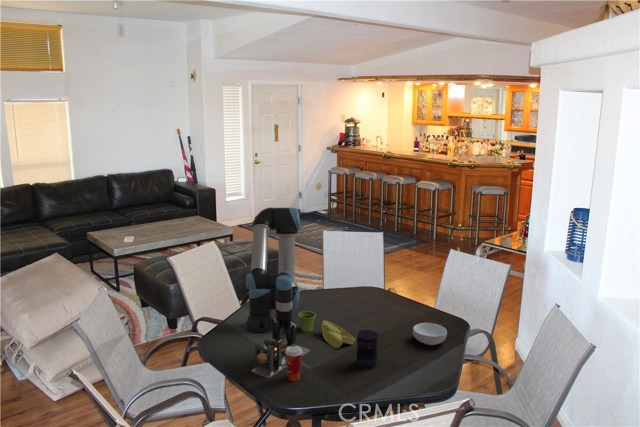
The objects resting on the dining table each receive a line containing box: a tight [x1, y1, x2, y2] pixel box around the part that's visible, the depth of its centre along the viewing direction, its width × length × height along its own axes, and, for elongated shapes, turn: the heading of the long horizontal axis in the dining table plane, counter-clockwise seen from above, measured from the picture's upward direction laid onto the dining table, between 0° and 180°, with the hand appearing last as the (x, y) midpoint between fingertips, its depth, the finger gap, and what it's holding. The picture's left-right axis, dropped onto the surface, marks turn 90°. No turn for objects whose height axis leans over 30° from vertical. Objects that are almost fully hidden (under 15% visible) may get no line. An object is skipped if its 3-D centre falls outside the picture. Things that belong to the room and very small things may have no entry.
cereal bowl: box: [412, 322, 448, 346], centre depth 283 cm, size 17×17×7 cm
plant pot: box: [297, 310, 317, 333], centre depth 294 cm, size 9×9×9 cm
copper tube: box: [256, 337, 287, 364], centre depth 254 cm, size 20×5×5 cm, turn 147°
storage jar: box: [356, 329, 379, 370], centre depth 258 cm, size 10×10×15 cm
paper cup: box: [285, 345, 303, 382], centre depth 244 cm, size 8×8×14 cm
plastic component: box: [321, 320, 356, 349], centre depth 284 cm, size 20×7×10 cm
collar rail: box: [251, 338, 311, 379], centre depth 259 cm, size 32×10×13 cm, turn 146°
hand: (283, 354), depth 261 cm, fingers closed on copper tube, 4 cm apart
